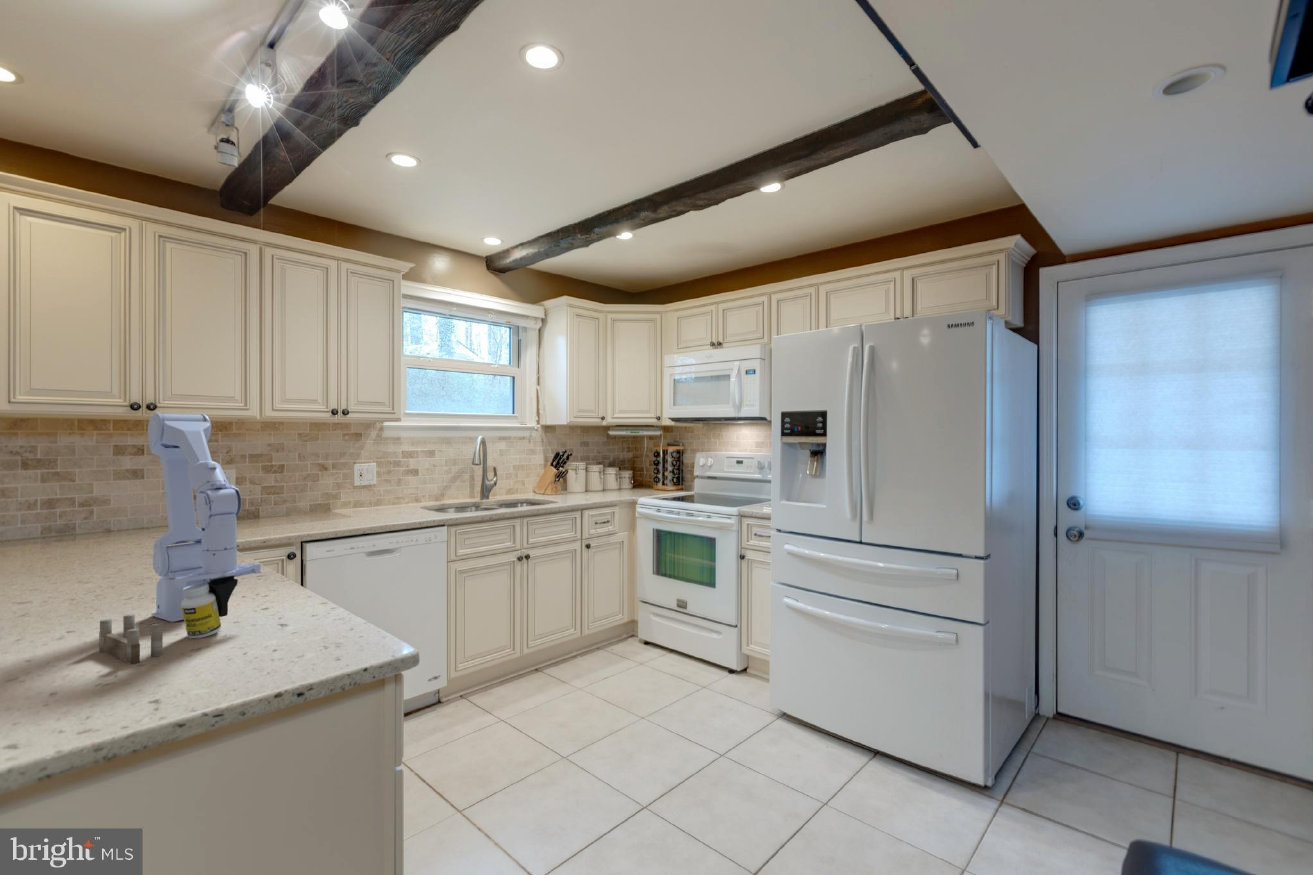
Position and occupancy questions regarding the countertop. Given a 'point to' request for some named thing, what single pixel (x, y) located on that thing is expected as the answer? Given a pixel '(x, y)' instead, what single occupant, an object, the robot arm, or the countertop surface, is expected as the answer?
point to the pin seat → (128, 640)
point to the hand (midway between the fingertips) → (220, 615)
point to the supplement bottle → (200, 611)
